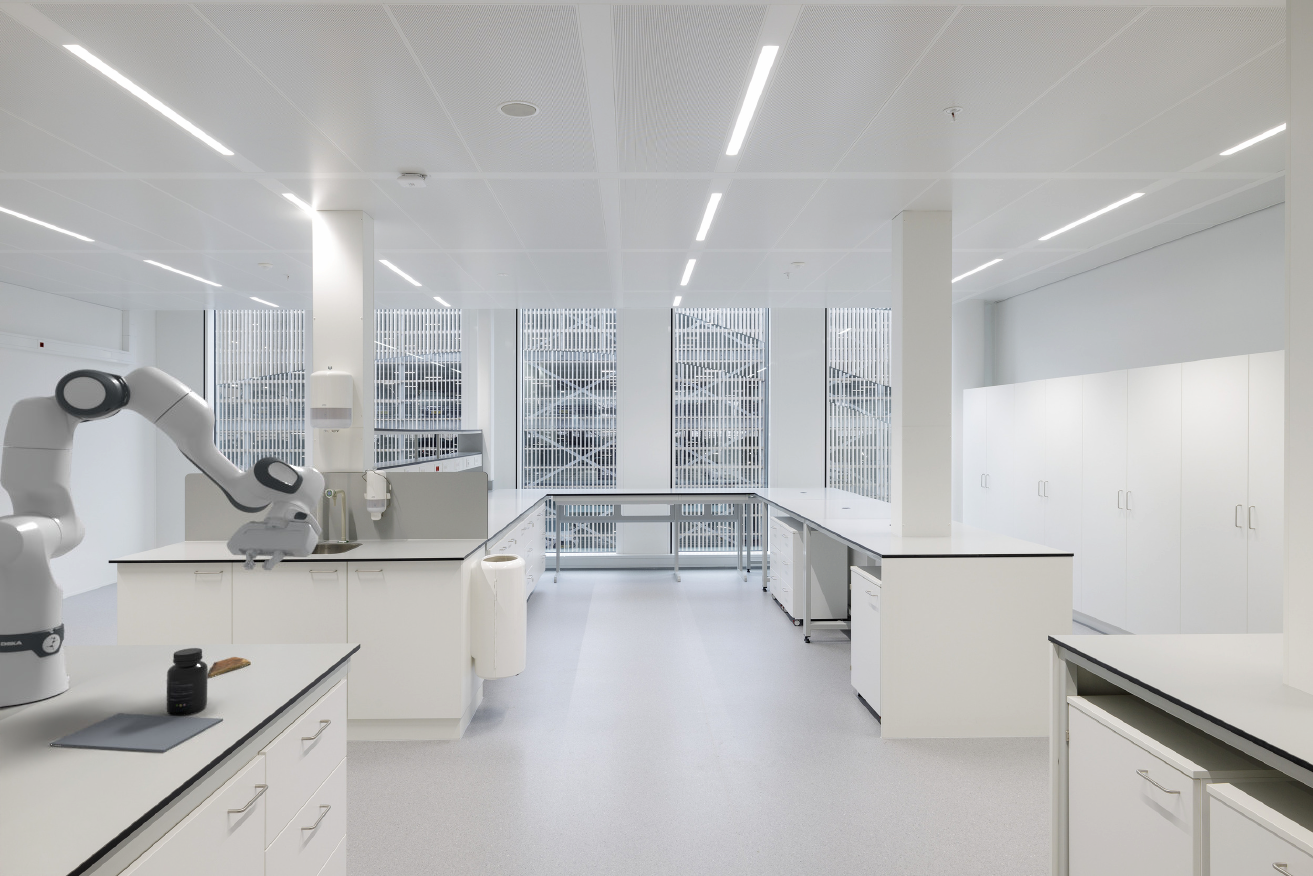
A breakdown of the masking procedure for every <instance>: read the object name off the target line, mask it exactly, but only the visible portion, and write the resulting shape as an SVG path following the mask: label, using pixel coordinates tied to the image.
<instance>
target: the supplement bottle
mask: <svg viewBox="0 0 1313 876" xmlns="http://www.w3.org/2000/svg"><path fill="white" fill-rule="evenodd" d="M172 656H173V659H172V663H173V665H172V666H170V667H169V668H168V670H167V672H166V707H165V708H166V713H167V715H168V716H182V717H185V716H189V715H194V714H197V713H199V712H201V711H203V710H204V709H205V708H206V707H207V705H208V676H209V673H208V670H209V669H208V668H209V667H208V664H207V663H206V662H204V661H203V649H202V648H199V647H191V648H189V647H188V648H186V649H185V648H184V649H180V650H177V651H174V653H173V655H172Z"/></svg>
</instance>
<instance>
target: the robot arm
mask: <svg viewBox="0 0 1313 876" xmlns="http://www.w3.org/2000/svg"><path fill="white" fill-rule="evenodd" d="M122 410H129V411H132V412H135V413H138V414H139V415H141V416H142V417H144V418H145V419H147V420H148V421H149V422H151V423H152V424H153V425H155V426H156V427H157V428H159V430H161V431H162V432H163V433H164V434H165V435H166V436H167V437H168V438H169V439H170V440H171V441H173V443H174V444H175V445H176V447H177V449H178V450H179V451H180V453H182V455H183V456H184V457H185V458H186V459H187V460H188V461H189V462H190V463H191V464H193V466H194V467H196V468H197V469H198V470H199V471H201V472H202V474H204V476H206V477H207V478H208V479H209V480H210V481H212V482H213V484H215V485H216V486H217V487H218V488H219V489H220V490H221V491H222V493H223V494H224V495H225V497H226V499H227V500H228V501H229V503H230V504H231V505H232V506H233V507H234V508H235V509H236V510H238V511H240V512H243V513H247V514H256V513H259V512H263V511H265V510H266V509H267V508H268V507H269V506H270V504H271V503H272V504H273V505H272V507H270V509H269V511H268V512H267V514H266V515H265V517H264V518H263V521H255V520H252V521H249V522H247V523H244V524H242V525H241V526H240V527H239V528H238V529H237V530H236V531H235V532H234V533H233V535H232V536H231V537H230V538H229V539H228V541H227V543H226V548H227V550H228V551H229V553H231V554H232V555H233V556H245V562H244V563H243V568H244V569H245V570H248V571H249V570H251V571H252V570H254V567H256V565H257V564H256V562H254V559H256V558H257V557H271V558H269V560H268V559H266V560H264V562H263V563H262V567H261V568H262V570H264V571H272V570H273V568H274V566H276V565H277V564H279V563H280V562H281V561H283V560H284V558H285V557H286V558H287V557H289V558H291V557H293V558H307V557H309V556H311V555H312V553H313V552H314V550H315V548H316V546H317V544H318V541H319V536H320V535H321V533H322V532H323V530H322V528H321V526H320V524H319V523H318V521H317V520H316V518H315V517H314V516H313V514H311V512H313V511H314V509H316V507H317V505H318V504H319V502H320V500H321V497H322V495H323V493H324V490H325V486H326V485H325V478H324V476H323V475H322V473H321V472H319V470H317V469H315V468H313V467H310V466H305V465H304V466H297V465H295V464H289V463H288V462H286V461H285V460H283V459H281V458H278V457H275V456H266V457H262V458H260V459H259V460H257V461H256V462H255V463H253V464H252V465H251V466H250V467H249V468H248V469H247V470H246V471H242V470H241V469H239V468H238V466H236V465H235V464H234V463H233V462H232V461H231V460H229V459H228V458H227V457H226V456H225V455H224V454H223V453H222V452H221V451H220V450H219V449H218V447H217V446H216V444H215V441H214V429H215V423H216V422H215V421H216V416H215V412H214V409H213V408H212V407H211V406H210V404H209V403H208V402H207V401H206V400H205V398H203V397H202V396H200V395H199V394H198V393H197V392H195V390H193V389H192V388H190V387H189V386H188V385H186V384H185V383H183V382H182V381H181V380H179V379H177V378H176V377H174V376H172V375H171V374H169V373H167V372H165V371H164V370H161V369H160V368H158V367H155V366H151V365H150V366H142V367H138V368H136V369H134V370H132V371H130V372H129V373H128V374H127V375H125V376H121V375H119V374H114V373H109V372H105V371H102V370H96V369H83V368H82V369H77V370H72V371H71V372H68V373H66V374H65V375H64V376H63V377H61V378H60V379H59V380H58V382H57V384H56V386H55V389H54V394H53V395H52V396H30V397H27V398H26V397H25V398H23V399H20V400H18V401H17V402H15V403H14V405H13V406H12V408H11V410H10V414H9V416H8V420H7V423H6V427H5V433H4V436H3V445H2V446H3V447H2V455H1V464H0V465H1V466H0V485H1V487H2V488H3V489H4V490H5V491H6V492H7V494H8V496H9V498H10V502H11V505H12V511H13V514H7V515H2V516H0V708H1V707H2V708H3V707H8V706H14V705H21V704H27V703H32V702H36V701H40V700H44V699H47V698H50V697H54V696H56V695H58V694H62V693H64V692H66V691H67V690H68V689H69V688H70V684H69V682H70V681H71V679H70V675H67V666H66V665H67V664H66V655H65V654H66V653H65V647H64V646H63V645H62V644H63V642H64V639H65V632H66V630H65V624H64V623H63V622H62V621H63V599H64V598H63V595H64V591H63V588H62V586H61V585H60V584H59V583H58V582H57V581H56V580H55V577H54V574H53V571H52V569H51V564H50V560H52V559H56V558H59V557H62V556H64V555H66V554H68V553H69V552H71V551H72V550H74V549H75V548H77V547H78V546H79V545H80V544H81V543H82V541H83V540H84V537H85V535H86V528H85V524H84V521H82V519H81V518H80V517H79V516H78V515H77V512H76V507H75V505H74V500H73V495H72V491H71V490H72V488H71V471H72V468H71V467H72V457H73V443H74V442H73V441H74V434H75V430H76V428H77V426H78V425H80V424H81V423H88V422H93V421H100V420H105V419H108V418H111V417H113V416H115V415H117V414H118V413H120V411H122Z"/></svg>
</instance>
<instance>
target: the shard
mask: <svg viewBox="0 0 1313 876" xmlns="http://www.w3.org/2000/svg"><path fill="white" fill-rule="evenodd" d="M251 663H252V662H251V661H250V660H249V659H247V658H242V657H237V656H231V657H228V658H225V659H221V660H218V661H215V662H213V663H212V666H211V667H210V672H209V673H208V676H209V677H210V678H213V677H212V676H214V677H216V676H215V675H217V676H219V675H218V674H220V675H222V674H221V673H223V674H225V673H224V672H226V673H228V672H227V671H229V672H231V671H234V669H235V670H238V669H241V668H243V667H242V666H245V667H247V666H246V665H248V664H250V665H251ZM248 666H249V665H248ZM240 667H241V668H240ZM237 668H238V669H237ZM230 670H231V671H230Z"/></svg>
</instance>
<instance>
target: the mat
mask: <svg viewBox="0 0 1313 876" xmlns="http://www.w3.org/2000/svg"><path fill="white" fill-rule="evenodd" d="M223 721H224V718H219V717H218V718H215V717H214V718H213V717H197V716H171V715H164V714H163V715H161V714H160V715H159V714H142V713H140V714H139V713H138V714H137V713H126V712H125V713H122V712H118V713H117V714H114V715H112V716H110V717H109V716H108V717H107V718H105V719H103V720H100V721H98V722H96V723H93V724H91V725H89V726H87V727H84V728H81V729H80V730H77V731H74V732H72V733H70V734H68V735H66V736H63V737H61V738H59V739H56V740H55V741H52V742H50V743H49V745H51V744H52V745H61V746H60V747H65V746H73V747H72V748H82V747H88V748H87V749H99V748H100V749H101V750H117V749H122V750H121V751H134V750H135V752H136V751H138V752H152V753H153V752H154V753H166V752H167V750H168V751H169V749H170V750H171V749H174V748H175V747H177V746H179V745H180V744H183V743H184V742H186V741H188V740H190V739H192V738H195V736H198V735H199V734H202V732H204V731H205V732H206V731H207V730H208V728H209V729H210V728H212V727H215V726H216V725H218V724H219V723H221V722H223ZM206 729H207V730H206ZM100 749H99V750H100Z"/></svg>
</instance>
